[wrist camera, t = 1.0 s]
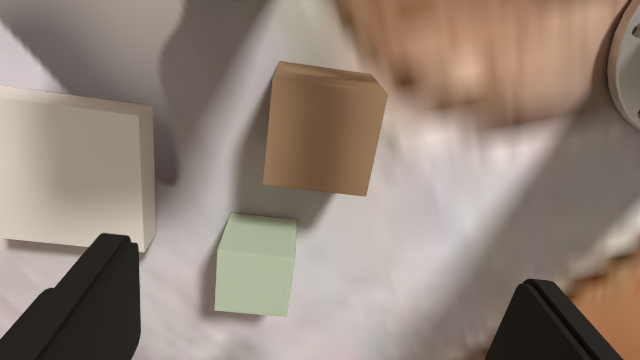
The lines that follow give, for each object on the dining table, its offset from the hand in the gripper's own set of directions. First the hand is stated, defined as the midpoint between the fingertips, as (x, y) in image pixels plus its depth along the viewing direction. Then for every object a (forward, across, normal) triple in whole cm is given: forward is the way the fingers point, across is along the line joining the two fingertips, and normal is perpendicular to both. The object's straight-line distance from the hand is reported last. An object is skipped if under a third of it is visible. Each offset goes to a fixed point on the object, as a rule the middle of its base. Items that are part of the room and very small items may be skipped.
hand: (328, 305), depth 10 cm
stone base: (+19, +15, +6) cm, 25 cm away
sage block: (+19, +2, +11) cm, 22 cm away
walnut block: (+19, -1, 0) cm, 19 cm away
